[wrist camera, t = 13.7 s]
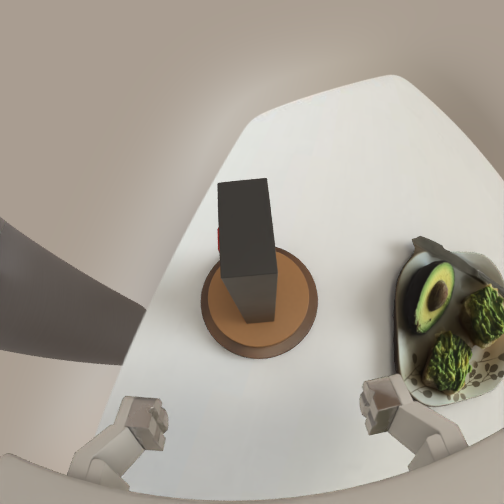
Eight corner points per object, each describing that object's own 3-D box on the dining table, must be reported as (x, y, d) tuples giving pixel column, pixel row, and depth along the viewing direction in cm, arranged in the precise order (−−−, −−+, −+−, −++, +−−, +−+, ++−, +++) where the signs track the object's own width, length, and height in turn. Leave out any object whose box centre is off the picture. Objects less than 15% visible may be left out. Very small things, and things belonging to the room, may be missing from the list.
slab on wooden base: (313, 342, 26) (362, 313, 12) (212, 350, 26) (146, 331, 12) (301, 248, 29) (324, 141, 15) (208, 257, 29) (157, 159, 15)
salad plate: (506, 249, 29) (527, 235, 24) (517, 385, 22) (541, 383, 18) (385, 240, 30) (401, 221, 26) (387, 411, 24) (406, 418, 19)
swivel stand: (188, 340, 28) (186, 339, 27) (221, 237, 31) (220, 233, 30) (301, 371, 26) (302, 371, 25) (326, 262, 30) (327, 258, 29)
